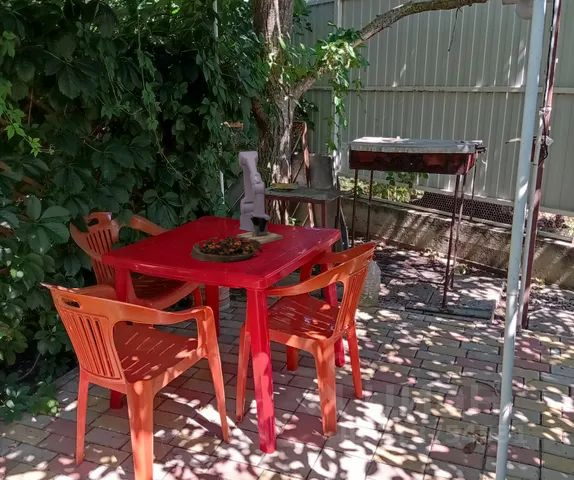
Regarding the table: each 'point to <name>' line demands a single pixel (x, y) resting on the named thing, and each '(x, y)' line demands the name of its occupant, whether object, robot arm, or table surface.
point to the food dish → (226, 250)
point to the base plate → (260, 237)
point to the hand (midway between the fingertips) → (259, 231)
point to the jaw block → (257, 230)
